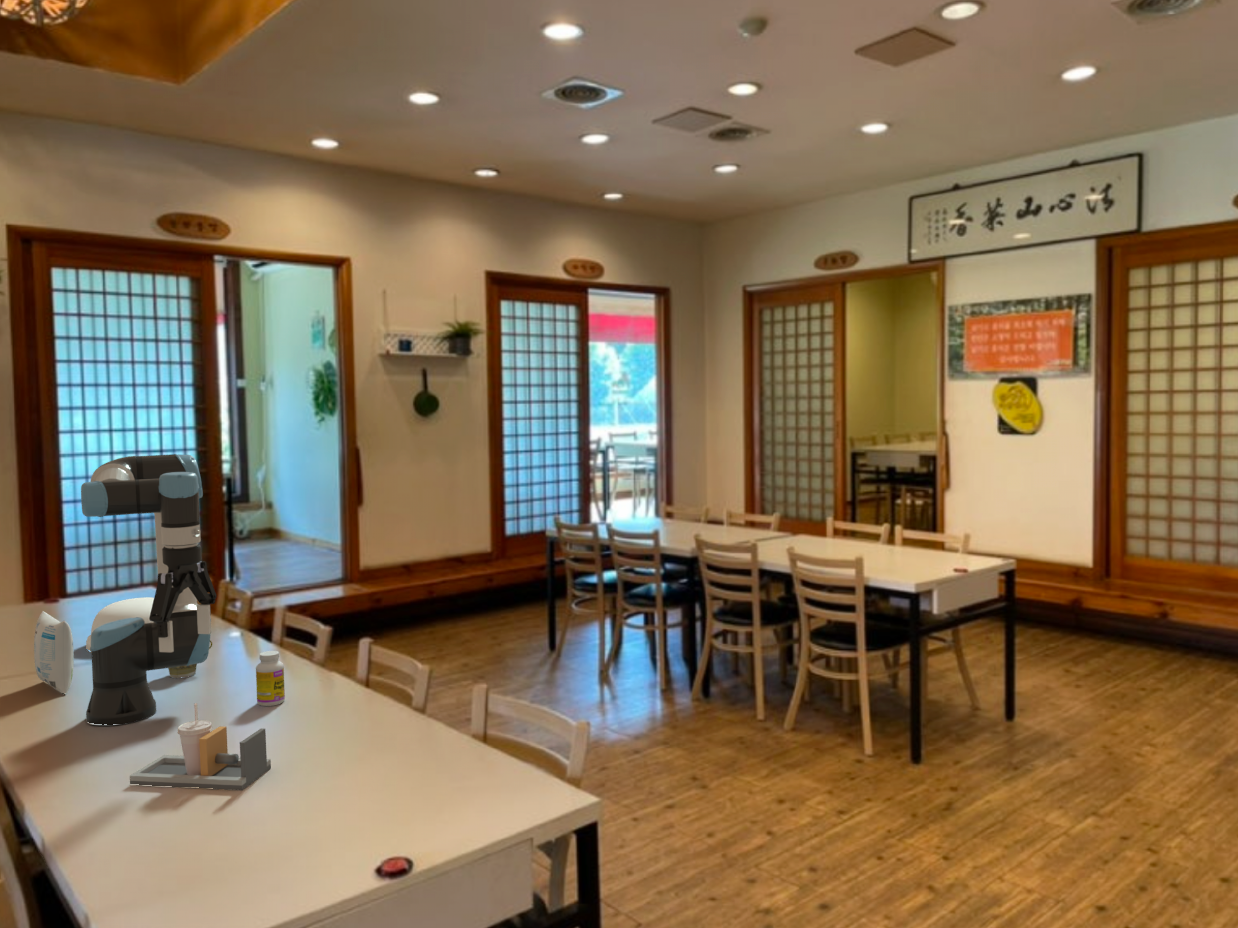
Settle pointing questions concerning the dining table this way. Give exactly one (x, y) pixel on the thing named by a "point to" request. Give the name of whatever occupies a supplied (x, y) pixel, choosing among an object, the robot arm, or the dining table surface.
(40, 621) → the pouch
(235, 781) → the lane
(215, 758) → the pusher
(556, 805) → the dining table surface
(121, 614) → the dome cover
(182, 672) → the ceramic cup
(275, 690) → the supplement bottle
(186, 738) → the smoothie
